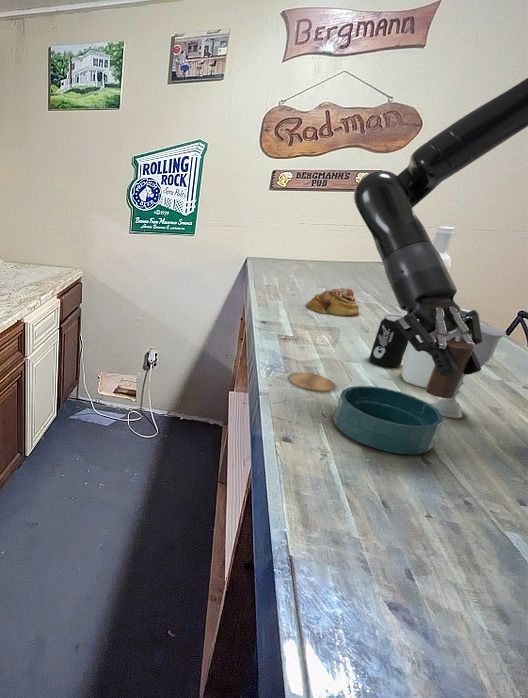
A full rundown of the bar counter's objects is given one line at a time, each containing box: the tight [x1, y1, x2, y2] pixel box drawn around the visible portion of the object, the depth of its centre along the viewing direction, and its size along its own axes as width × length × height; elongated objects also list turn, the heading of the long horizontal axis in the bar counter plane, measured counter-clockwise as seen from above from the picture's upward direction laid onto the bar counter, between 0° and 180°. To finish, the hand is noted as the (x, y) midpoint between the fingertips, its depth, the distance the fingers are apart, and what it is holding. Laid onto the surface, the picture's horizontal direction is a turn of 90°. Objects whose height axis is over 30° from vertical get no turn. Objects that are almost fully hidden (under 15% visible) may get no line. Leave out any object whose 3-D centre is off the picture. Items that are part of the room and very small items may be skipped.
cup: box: [401, 308, 481, 389], centre depth 103 cm, size 11×10×17 cm
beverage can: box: [369, 314, 408, 369], centre depth 113 cm, size 7×7×12 cm
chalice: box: [432, 324, 507, 419], centre depth 90 cm, size 7×7×18 cm
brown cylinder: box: [425, 340, 474, 399], centre depth 72 cm, size 4×4×8 cm
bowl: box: [332, 385, 444, 455], centre depth 85 cm, size 15×15×6 cm
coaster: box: [289, 372, 335, 393], centre depth 105 cm, size 9×9×1 cm
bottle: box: [399, 225, 456, 316], centre depth 135 cm, size 8×8×30 cm
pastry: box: [306, 287, 360, 318], centre depth 155 cm, size 13×15×8 cm
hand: (461, 373), depth 70 cm, fingers closed on brown cylinder, 3 cm apart
